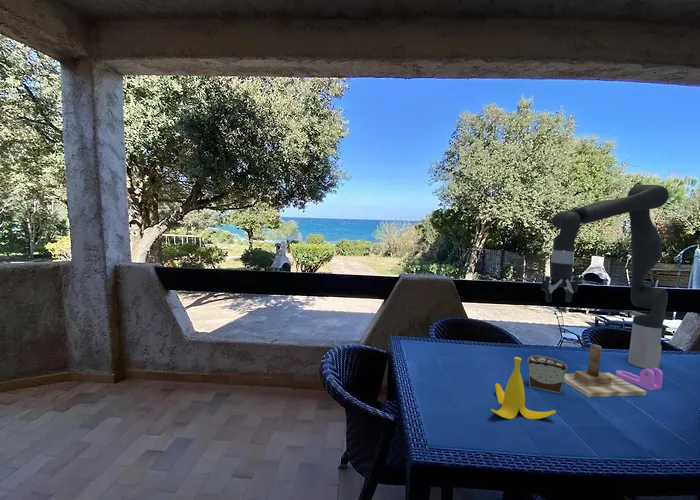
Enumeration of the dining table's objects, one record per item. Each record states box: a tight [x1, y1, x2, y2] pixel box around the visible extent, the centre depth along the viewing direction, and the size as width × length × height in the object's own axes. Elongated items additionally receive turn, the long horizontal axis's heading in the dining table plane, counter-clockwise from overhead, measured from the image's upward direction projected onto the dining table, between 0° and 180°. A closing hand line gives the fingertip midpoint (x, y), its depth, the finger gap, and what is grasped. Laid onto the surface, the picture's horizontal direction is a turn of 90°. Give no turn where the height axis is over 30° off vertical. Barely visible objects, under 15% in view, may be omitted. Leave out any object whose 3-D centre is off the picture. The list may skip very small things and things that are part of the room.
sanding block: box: [574, 343, 612, 387], centre depth 118 cm, size 9×6×13 cm, turn 98°
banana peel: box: [490, 356, 557, 420], centre depth 99 cm, size 17×19×17 cm
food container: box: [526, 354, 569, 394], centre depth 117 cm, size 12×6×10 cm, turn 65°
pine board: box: [563, 372, 647, 398], centre depth 119 cm, size 22×14×2 cm, turn 98°
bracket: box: [615, 368, 664, 391], centre depth 124 cm, size 13×6×7 cm, turn 18°
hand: (558, 301), depth 134 cm, fingers open, 8 cm apart
